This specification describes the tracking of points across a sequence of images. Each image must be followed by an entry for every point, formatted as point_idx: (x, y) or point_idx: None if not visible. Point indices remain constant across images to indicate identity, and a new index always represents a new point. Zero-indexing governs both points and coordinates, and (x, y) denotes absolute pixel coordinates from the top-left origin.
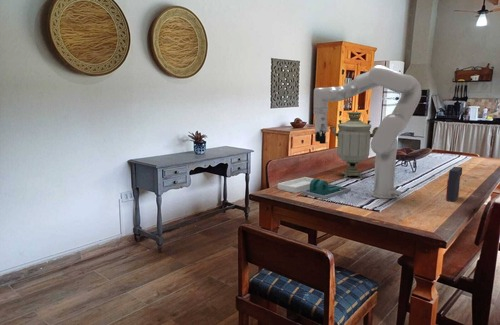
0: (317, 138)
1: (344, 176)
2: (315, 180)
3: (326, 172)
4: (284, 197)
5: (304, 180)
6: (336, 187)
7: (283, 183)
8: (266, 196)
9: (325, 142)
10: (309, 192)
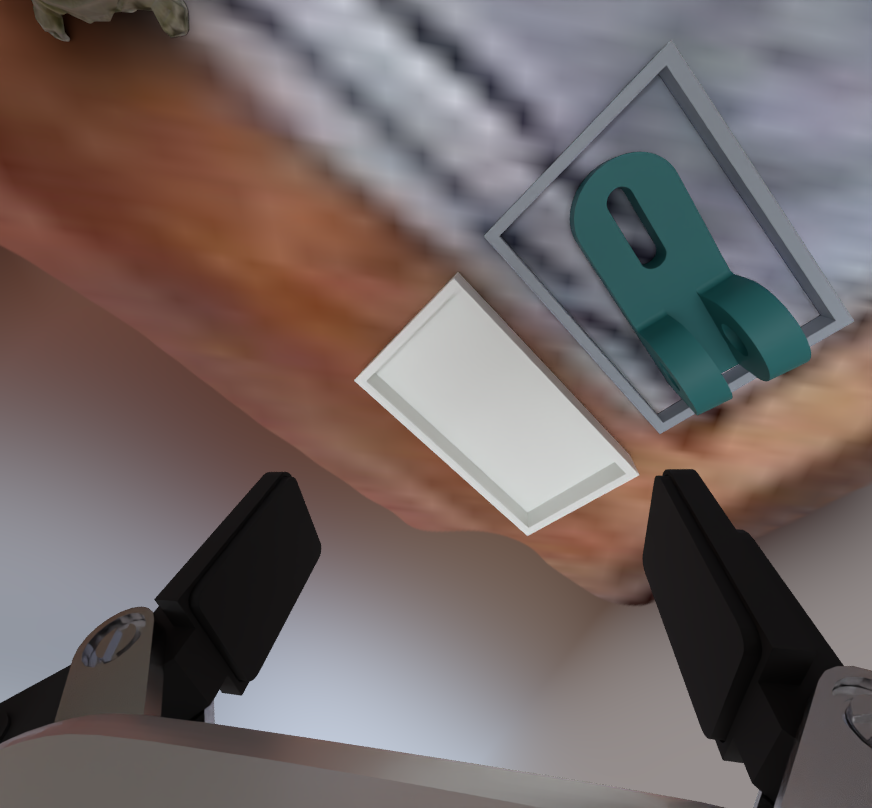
0: (284, 572)
1: (171, 23)
2: (730, 393)
3: (44, 177)
4: None
5: (380, 380)
6: (647, 189)
7: (508, 506)
8: None
9: (698, 481)
10: None
